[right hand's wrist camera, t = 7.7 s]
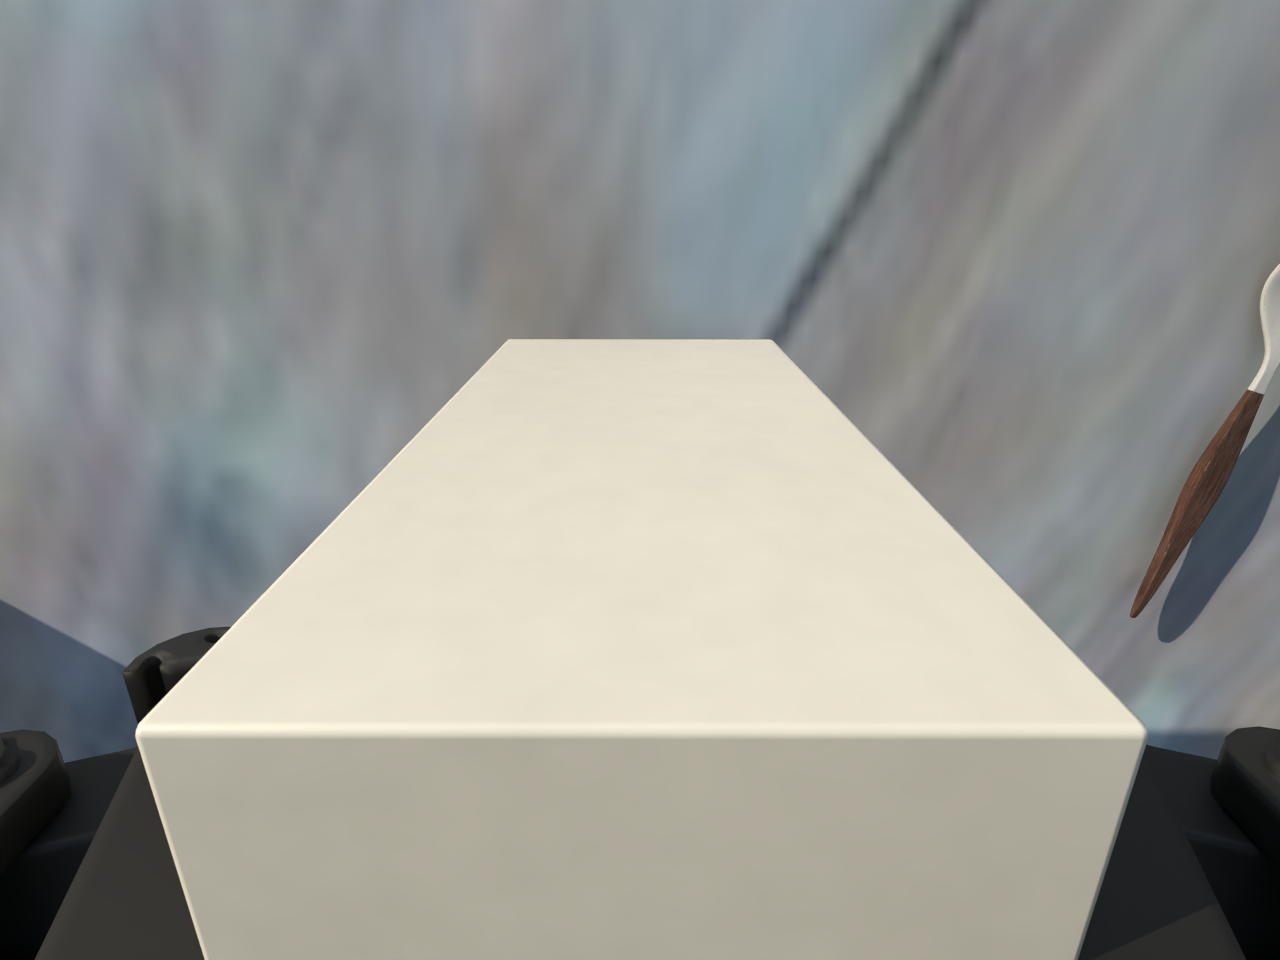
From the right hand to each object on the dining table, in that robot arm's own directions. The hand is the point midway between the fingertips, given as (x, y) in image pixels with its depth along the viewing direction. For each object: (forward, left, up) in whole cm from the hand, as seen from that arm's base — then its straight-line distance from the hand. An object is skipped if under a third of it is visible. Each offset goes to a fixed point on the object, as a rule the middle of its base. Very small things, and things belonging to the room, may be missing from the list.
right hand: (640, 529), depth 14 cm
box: (0, +10, -3) cm, 11 cm away
